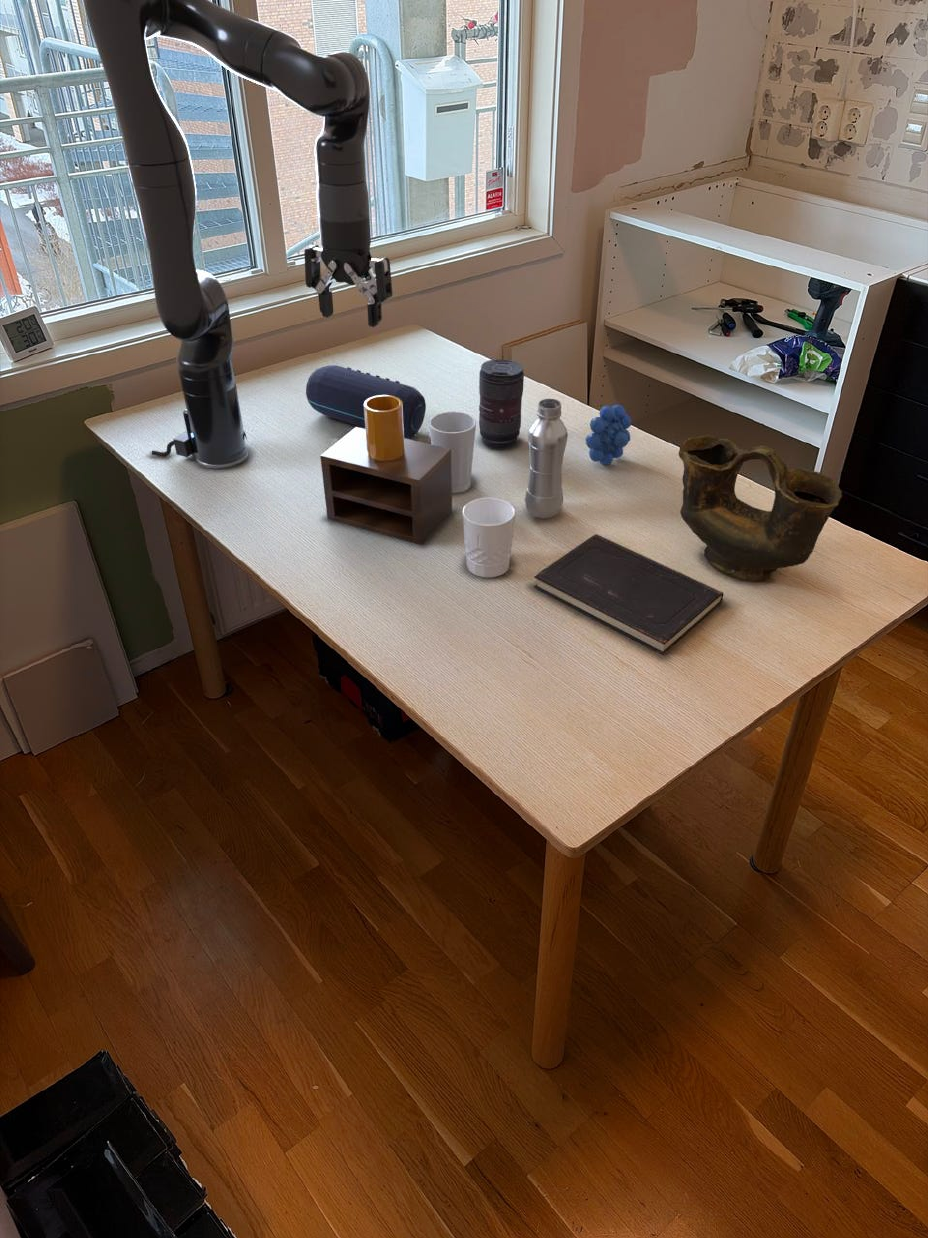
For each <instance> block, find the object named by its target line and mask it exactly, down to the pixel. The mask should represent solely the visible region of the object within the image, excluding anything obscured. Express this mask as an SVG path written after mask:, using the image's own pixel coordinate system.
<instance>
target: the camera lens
mask: <svg viewBox="0 0 928 1238" xmlns="http://www.w3.org/2000/svg"><path fill="white" fill-rule="evenodd" d="M478 374H479V377H478V379H479V380H478V391H479V393H478V394H479V405H478V411H479V414H478V426H479V427H478V428H479V434H480V436H481V442H482V444H483V445H484V446H485V447H487V448H490V449H494V450H505V449H510V448H512V447H514V446H515V445H516V444H517V442H518V437H519V436H520V433H521V432H520V431H521V426H522V401H523V400H522V399H523V398H522V397H523V394H524V378H525V373H524V367H523V365H522V364H521V363H519V362H518V361H515V360H511V359H504V358H495V359H489V360H486V361H484V362H483V363H482V364H481V366H480V370H479V373H478Z"/></svg>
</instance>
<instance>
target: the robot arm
mask: <svg viewBox="0 0 928 1238" xmlns="http://www.w3.org/2000/svg"><path fill="white" fill-rule="evenodd" d="M83 6H84V10H85V15H86V18H87V21H88V25H89V28H90V31H91V34H92V37H93V41H94V43H95V47H96V50H97V53H98V55H99V59H100V61H101V65H102V67H103V71H104V74H105V78H106V80H107V83H108V87H109V91H110V94H111V98H112V102H113V106H114V110H115V111H114V112H115V114H116V118H117V122H118V125H119V129H120V133H121V138H122V143H123V146H124V152H125V158H126V162H127V166H128V171H129V175H130V179H131V183H132V187H133V191H134V195H135V198H136V201H137V206H138V210H139V214H140V220H141V224H142V229H143V233H144V238H145V241H146V242H145V243H146V245H147V250H148V255H149V262H150V268H151V269H150V270H151V275H152V276H151V277H152V283H153V292H154V300H155V305H156V310H157V314H158V317H159V319H160V322H161V323H162V325H163V327H164V328H165V330H166V331H167V332H168V333H169V334H170V335H171V336H172V337H174V338H175V339H177V340H179V341H180V345H179V348H178V351H177V354H176V365H177V370H178V375H179V376H178V377H179V380H180V385H181V390H182V395H183V399H184V403H185V408H186V409H184V410H183V412H182V414H183V421H184V425H185V431H184V432H182V433H180V434H179V435H177V436H175V437H174V438H173V439H172V440H171V441H170V442H168V443H167V445H166V450H165V451H163V452H162V451H158V450H151V455H152V456H157V457H168V456H170V454H171V453H172V447H174V449H175V453H176V455H177V456H180V457H185V458H190V456H191V458H192V460H195V461H196V462H197V464H198V465H199V466H201V467H204V468H207V469H213V470H221V469H229V468H232V467H235V466H237V465H240V464H241V463H243V462H244V461H246V459H247V458H248V456H249V451H248V447H247V443H246V441H247V440H248V438H247V433H246V432H245V430H244V425H243V424H244V423H243V419H242V412H241V406H240V401H239V395H238V389H237V383H236V378H235V372H234V366H233V365H234V364H233V351H234V339H233V337H234V336H233V330H232V322H231V314H230V313H231V312H230V308H229V302H228V297H227V294H226V292H225V290H224V288H223V286H222V284H221V283H220V282H219V280H218V279H217V278H216V277H215V276H214V275H213V274H211V273H209V272H207V271H205V270H200V269H197V267H196V262H195V254H194V234H195V223H196V211H197V210H196V209H197V187H196V179H195V175H194V173H195V172H194V168H193V163H192V158H191V154H190V149H189V146H188V141H187V139H186V137H185V134H184V133H183V131H182V129H181V127H180V126H179V124H178V122H177V120H176V118H175V117H174V116H173V114H172V113H171V111H170V109H169V108H168V106H167V105H166V104H165V102H164V100H163V97H161V95H160V92H159V90H158V88H157V86H156V82H155V80H154V79H155V78H154V76H153V72H152V68H151V63H150V58H149V53H148V48H147V42H146V40H150V39H152V38H154V37H161V38H167V39H172V40H177V41H181V42H185V43H188V44H190V45H192V46H195V47H197V48H198V49H201V50H202V51H204V52H205V53H207V54H208V55H209V56H210V57H212V59H214V60H215V61H216V62H217V63H219V64H220V65H221V66H223V67H224V68H225V69H227V70H229V71H230V72H231V73H232V74H233V73H234V74H235V75H237V76H239V77H241V78H244V79H246V80H247V81H248V80H249V81H251V82H253V83H256V84H257V85H261V86H263V87H265V88H268V89H270V90H274V91H276V92H278V93H280V94H281V95H282V96H284V97H285V99H288V100H289V101H291V102H292V103H293V104H295V105H297V106H299V107H300V108H301V109H303V110H305V111H306V112H309V113H311V114H313V115H316V116H319V117H323V127H322V130H321V132H320V134H319V135H318V136H317V138H316V140H315V143H314V144H315V145H314V157H315V172H316V205H317V206H316V207H317V218H318V219H317V220H318V229H319V231H318V232H319V243H320V246H321V247H322V248H320V246H319V244H313V245H310V246H309V247H307V248H305V249H304V253H303V254H304V275H305V286H306V287H307V288H309V289H310V288H312V289H314V290H315V291H316V293H317V295H318V307H319V311H320V313H321V316H322V317H323V318H329V317H331V316H333V315H334V300H333V291H332V290H330V289H331V287H332V286H333V284H334V282H336V283H340V284H341V283H342V284H343V283H345V284H348V285H349V286H355V287H356V288H357V290H358V291H359V292H360V293H362V294H363V296H364V297H365V299H366V301H367V302H368V303H367V304H366V305H367V323H368V327H369V328H370V327H371V328H375V327H377V326H378V325H380V322H382V319H383V316H382V314H383V312H382V303H384V302H386V301H387V300H388V299H390V298H392V297H393V283H392V272H391V261H390V259H389V257H386V256H385V257H382V258H373V256H372V254H371V250H370V249H371V245H372V244H371V243H372V237H371V236H372V235H371V216H370V197H369V191H368V190H369V189H368V185H367V184H368V183H367V171H366V153H365V152H366V151H365V141H366V134H367V129H368V122H369V112H370V102H371V101H370V100H371V99H370V98H371V90H370V80H369V77H368V73H367V70H366V68H365V66H364V64H363V63H362V61H361V60H360V59H359V58H358V56H356V55H355V54H354V53H351V52H349V51H337V52H333V53H330V54H327V55H324V56H321V55H317V54H314V53H312V52H310V51H307V50H305V49H303V48H302V46H301V43H300V42H299V41H298V40H297V39H296V38H295V37H294V36H292V35H290V34H288V33H286V32H284V31H281V30H278V29H276V28H274V27H272V26H269V25H266V24H264V23H262V22H259V21H256V20H254V19H251V18H248V17H246V16H243V15H241V14H239V13H236V12H233V11H231V10H229V9H227V8H225V7H222V6H220V5H219V4H216V3H214V2H212V1H210V0H83ZM321 261H322V262H323V264H324V266H325V267H326V268H325V270H324V272H323V274H321ZM371 269H372V272H371ZM374 276H375V277H374ZM364 279H365V281H366V282H364Z"/></svg>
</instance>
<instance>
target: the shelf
mask: <svg viewBox="0 0 928 1238" xmlns="http://www.w3.org/2000/svg"><path fill="white" fill-rule="evenodd" d="M319 458H320V465H321V466H320V467H321V473H322V484H323V491H324V492H323V493H324V500H325V511H326V518H327V520H330V521H333V522H338V523H340V524H345V525H348V526H351V527H355V528H359V529H362V530H366V531H370V532H373V533H377V534H381V535H385V536H388V537H391V538H395V539H398V540H402V541H406V542H410V543H414V544H417V545H420V546H423V544H425V542H426V541H427V540H428V539H429V538H430V537H431V535H432V534H434V532H436V530H437V529H438V528H439V527H440V526H441V525H442V524H443V522H445V520H446V519H447V518H448V517H449V516H450V515H451V514H452V513H453V496H452V495H453V493H452V475H451V449H448V448H444V447H440V446H436V445H432V443H426V442H422V441H417V440H414V439H411V438H408V439H406V438H404V454H403V456H401V457H400V458H398V459H396V460H392V461H378V460H375V459H372V458H371V457H370V456H369V455H368V451H367V442H366V429H365V428H363V427H360V426H355V427H353V428H352V429H351V430H350V431H349V432H348V433H346V434H345V435H344V436H343V437H341V438H340V439H338V440H337V441H336V442H335V443H333V444H332V445H331V446H329V448H327V449H326V450H324V452H323V453H321V454H320V456H319Z"/></svg>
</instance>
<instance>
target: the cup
mask: <svg viewBox="0 0 928 1238" xmlns="http://www.w3.org/2000/svg"><path fill="white" fill-rule="evenodd" d="M428 426H429V434H430V441H431V443H430V444H431V445H436V446H440V447H444V448H448V449H451V475H452V494H459V493H462V492H465V491H467V490H469V489H470V488H471V486H472V470H473V457H474V448H475V447H474V444H475V437H476V426H477V421H476V418H475V417H474V416H473V415H471V414H469V413H467V412H462V411H444V412H441V413H437V414H435V415H433V416H432V417H431V418H430V419H429V421H428Z"/></svg>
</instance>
